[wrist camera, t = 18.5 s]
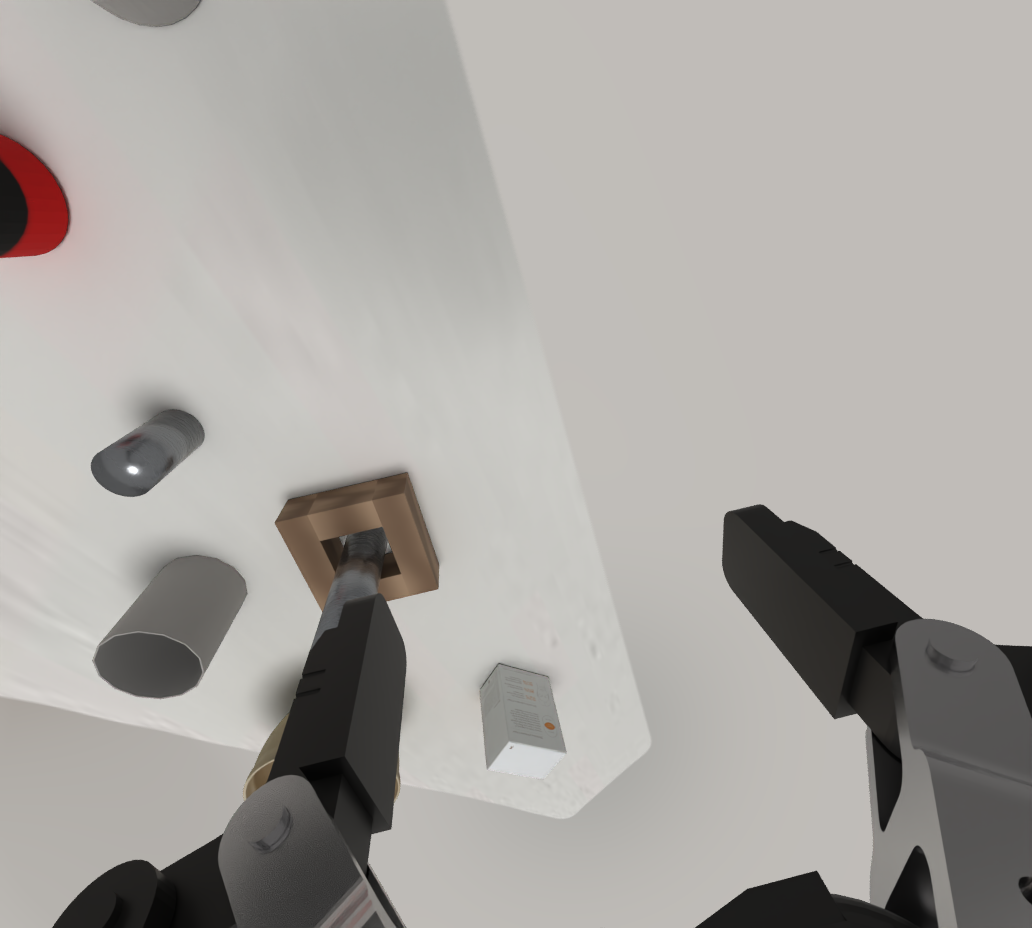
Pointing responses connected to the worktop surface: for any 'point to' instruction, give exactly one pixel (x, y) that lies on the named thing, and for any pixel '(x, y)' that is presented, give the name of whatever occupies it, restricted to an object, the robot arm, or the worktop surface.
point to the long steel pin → (354, 575)
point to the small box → (520, 723)
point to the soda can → (28, 204)
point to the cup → (172, 629)
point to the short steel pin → (147, 453)
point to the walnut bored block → (355, 509)
